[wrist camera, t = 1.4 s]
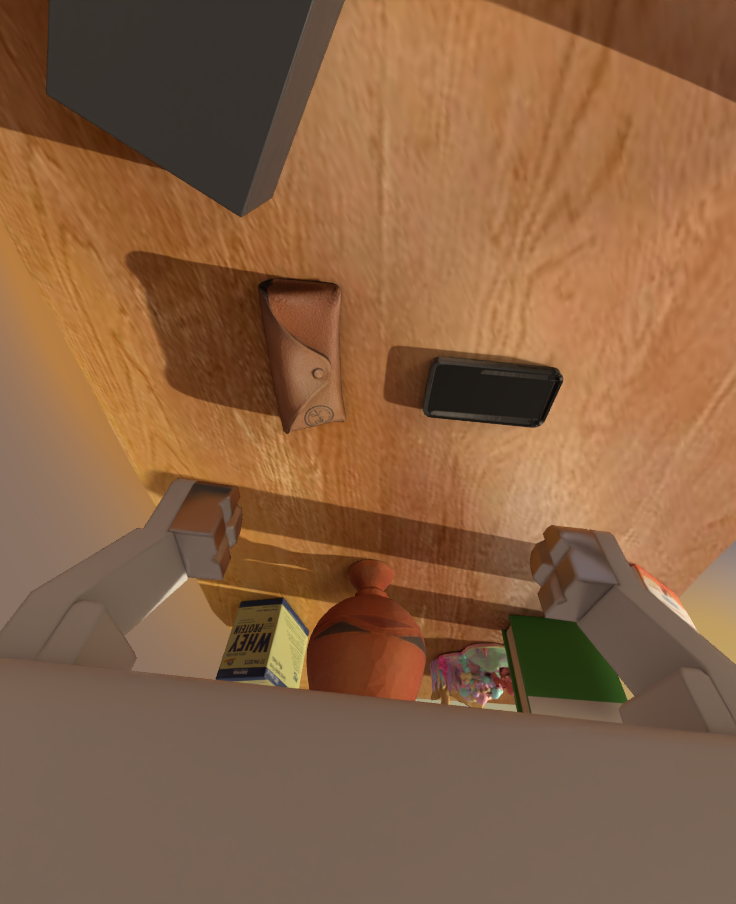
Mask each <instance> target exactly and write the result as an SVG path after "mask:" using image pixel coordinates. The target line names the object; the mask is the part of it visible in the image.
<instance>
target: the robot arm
mask: <svg viewBox="0 0 736 904" xmlns="http://www.w3.org/2000/svg"><path fill="white" fill-rule="evenodd" d="M239 498H240V492H239V488H238V487H236V486H229V485H223V484H216V483H209V482H202V481H194V480H187V479H180V478H177V479H176V480H175V481H173V482H172V483H171V485H170V487H169V488H168V490H167V491H166V493H165V495H164V496H163V498H162V499H161V501H160V503H159V504H158V506H157V507H156V509H155V511H154V512H153V514H152V516H151V517H150V519H149V520H148V522H147V524H146V525H145V527H144V528H143V529H141V528H136V529H135V530H133V531H131V532H130V533H128V534H126V535H125V536H123V537H122V538H120V539H118V540H116V541H115V542H113V543H111V544H110V545H108V546H107V547H105V548H103V549H102V550H100V551H98V552H96V553H95V554H93V555H92V556H90V557H88V558H87V559H85V560H83V561H82V562H80V563H78V564H77V565H75V566H73V567H72V568H70V569H69V570H67V571H65V572H63V573H62V574H60V575H58V576H57V577H55V578H53V579H52V580H50V581H48V582H47V583H45V584H43V585H42V586H40V587H38V588H37V589H35V590H33V591H32V592H31V593H30V594H29V595H28V596H27V598H26V599H25V600H24V602H23V603H22V604H21V605H20V607H19V608H18V609H17V611H16V612H15V613H14V614H13V616H12V617H11V618H10V620H9V621H8V622H7V623H6V625H5V626H4V627H3V629H2V630H1V631H0V904H736V664H735V663H733V662H732V661H731V660H730V659H729V658H727V657H726V656H725V655H724V654H723V653H722V652H720V651H719V650H718V649H717V648H716V647H715V646H713V645H712V644H711V643H710V642H709V641H708V640H706V639H705V638H704V637H703V636H702V635H701V634H699V633H698V632H697V631H696V630H695V629H694V628H692V627H691V626H690V625H689V624H688V623H686V622H685V621H684V620H683V619H682V618H681V617H679V616H678V615H677V614H676V613H675V612H674V611H672V610H671V609H670V608H669V607H668V606H667V605H665V604H664V603H663V602H662V601H661V600H660V599H658V598H657V597H656V596H655V595H654V594H652V593H651V592H650V591H649V590H648V589H643V588H641V586H640V585H639V583H638V581H637V579H636V577H635V575H634V573H633V571H632V569H631V567H630V566H629V564H628V562H627V560H626V558H625V556H624V554H623V552H622V550H621V549H620V547H619V545H618V543H617V541H616V539H615V537H614V536H613V535H612V534H611V533H610V532H604V531H596V530H587V529H581V528H572V527H563V526H554V525H551V526H549V527H548V528H547V529H546V530H545V532H544V533H543V535H544V538H545V540H543V541H541V542H539V543H537V544H536V545H535V547H534V549H533V550H532V552H531V558H530V568H531V573H532V576H533V579H534V580H535V581H536V582H537V583H538V584H539V585H540V586H541V588H540V590H539V592H538V597H539V600H540V603H541V606H542V610H543V613H544V616H545V618H551V619H558V620H565V621H572V622H578V623H577V625H578V626H579V628H580V629H581V630H582V631H583V633H584V634H585V635H586V636H587V637H588V639H589V640H590V641H591V642H592V644H593V645H594V646H595V647H596V649H597V650H598V651H599V652H600V654H601V655H602V656H603V657H604V659H605V660H606V661H607V662H608V664H609V665H610V666H611V667H612V669H613V670H614V671H615V672H616V674H617V675H618V676H619V677H620V678H621V680H622V681H623V682H624V683H625V685H626V686H627V687H628V688H629V690H630V691H631V692H632V693H633V695H634V697H633V698H631V699H630V700H628V701H626V702H625V703H623V704H622V705H621V706H620V708H619V709H618V710H619V713H620V716H621V719H622V721H623V723H615V722H605V721H596V720H587V719H577V718H568V717H559V716H549V715H540V714H531V713H521V712H512V711H502V710H493V709H484V708H475V707H465V706H456V705H447V704H436V703H427V702H419V701H409V700H400V699H391V698H381V697H372V696H363V695H353V694H344V693H335V692H325V691H316V690H306V689H297V688H288V687H278V686H269V685H259V684H250V683H241V682H231V681H222V680H212V679H203V678H194V677H184V676H175V675H165V674H156V673H147V672H138V671H131V669H132V667H133V665H134V663H135V661H136V659H137V658H136V655H135V652H134V651H133V649H132V647H131V646H130V645H129V643H128V641H127V640H126V638H125V637H124V636H125V635H126V634H127V633H128V632H129V631H131V630H132V629H133V628H134V627H135V626H136V625H137V624H139V623H140V622H141V621H142V620H143V619H144V618H145V617H146V616H147V615H148V614H150V613H151V612H152V611H153V610H154V609H155V608H156V607H157V606H159V605H160V604H161V603H162V602H163V601H164V600H165V599H167V598H168V596H170V595H171V594H172V593H173V592H174V591H175V590H177V589H178V588H179V587H180V586H181V585H182V584H183V583H184V582H186V581H187V580H188V577H191V578H202V579H213V580H223V577H224V574H225V572H226V569H227V567H228V564H229V561H230V559H231V555H230V549H229V548H230V547H232V546H233V545H234V544H236V543H237V540H238V537H239V535H240V531H241V526H242V515H243V514H242V508H241V507H240V506H239V505H238V504H237V503H238V501H239Z"/></svg>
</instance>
